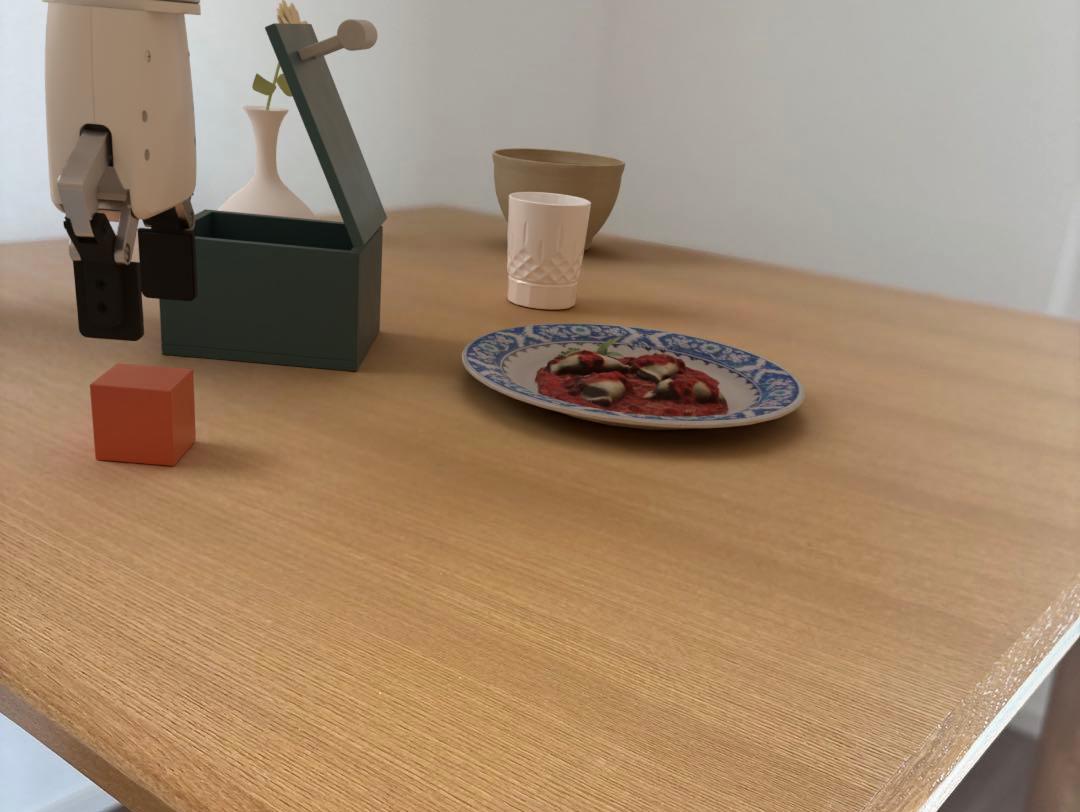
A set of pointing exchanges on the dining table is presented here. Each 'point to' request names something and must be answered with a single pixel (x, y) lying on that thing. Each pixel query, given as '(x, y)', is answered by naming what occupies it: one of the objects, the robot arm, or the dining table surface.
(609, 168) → the planter bowl
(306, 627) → the dining table surface
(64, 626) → the dining table surface
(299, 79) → the lid
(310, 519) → the dining table surface
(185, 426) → the block
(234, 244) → the chest
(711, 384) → the ceramic plate
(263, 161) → the flower in vase
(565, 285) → the white cup
